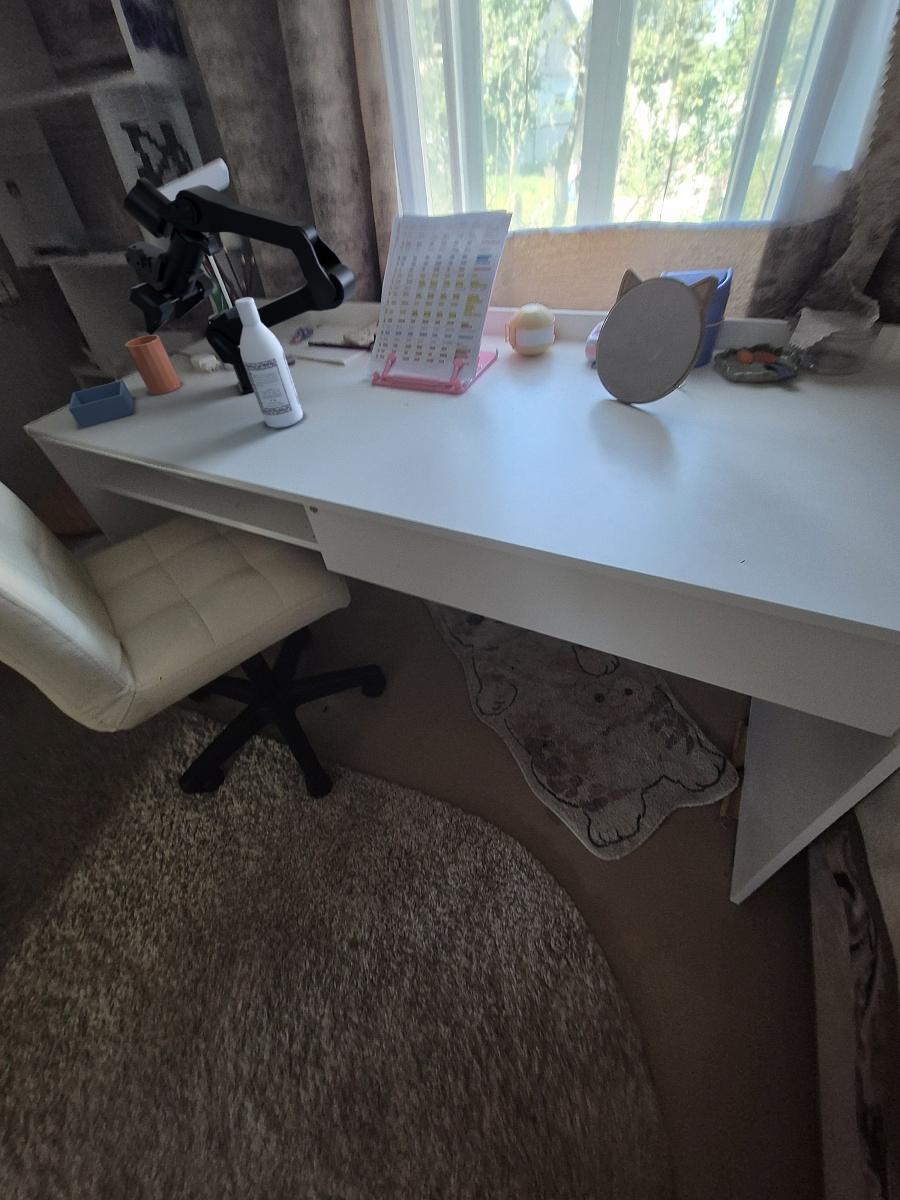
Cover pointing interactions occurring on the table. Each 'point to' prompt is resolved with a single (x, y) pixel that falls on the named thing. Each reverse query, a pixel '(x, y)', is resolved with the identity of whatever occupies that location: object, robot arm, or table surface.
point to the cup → (153, 364)
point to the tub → (101, 404)
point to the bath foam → (267, 369)
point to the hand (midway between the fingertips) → (163, 325)
